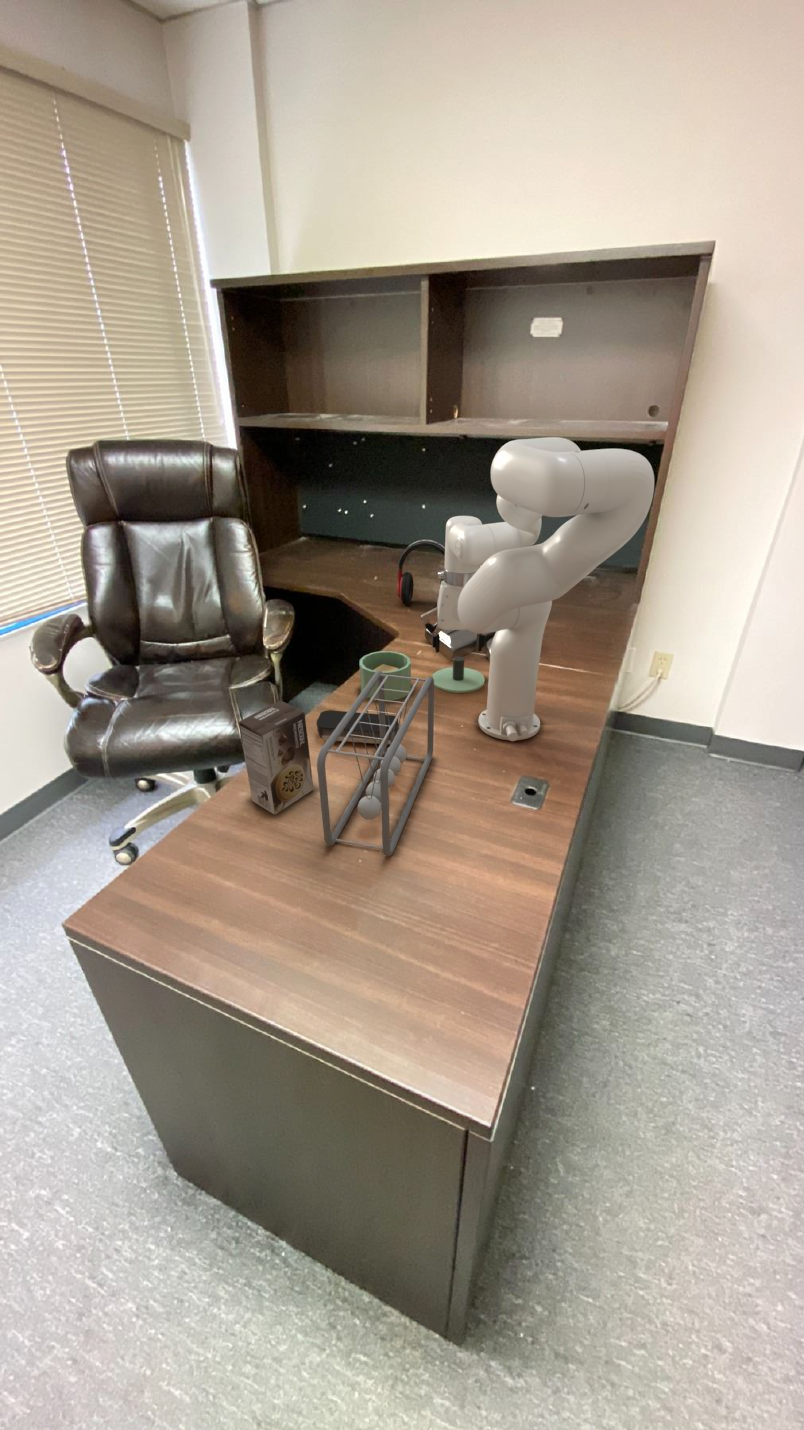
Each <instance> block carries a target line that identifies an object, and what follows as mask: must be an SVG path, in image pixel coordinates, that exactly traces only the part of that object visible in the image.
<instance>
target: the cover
mask: <svg viewBox="0 0 804 1430" xmlns="http://www.w3.org/2000/svg"><path fill="white" fill-rule="evenodd" d="M431 677H433V679H434V688H437V689H438V690H441V691H444V692H448V693H453V694H454V693H455V694H464V693H471V692H475V691H477V690H480V689H481V688H482V687H484V685H485V679H486V678H485V676H484V675H483V674H482V672H480V671H478V670H476V669H473V668H469V667H465V657H464V656H463V657H454V658H453V661H452V666H449V667H444V668H441V669H438V670H437V671H435V672H434V673H433V674H432V675H431Z"/></svg>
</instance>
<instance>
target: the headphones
mask: <svg viewBox="0 0 804 1430" xmlns="http://www.w3.org/2000/svg"><path fill="white" fill-rule="evenodd" d="M420 548H431V549H434V550H436V551H438V552H439V553H441V554H442V556H444V557H445V544H442V543H441V542H439V541H437V540H435V539H429V538H423V539H418V540H416V541H413V542H412V543H410V544H409V545H408V546H407V547H406V548H405V549H404V550H403V551H402V552H401V554H400V557H399V559H398V562H397V568H398V569H397V583H396V594H397V597H398V598H399V600H400V602H401V603H402V605H405V606H408V605H410V604H411V603H412V600H413V595H414V578H413V574H412V573H411V572H409V571H406V572H404V573H403V568H404V564H405V561H406V558H408V555H409V554H411V552H413V551H415V550H416V549H420ZM442 581H444V580H443V579H441V578H440V582H439V586H440V585H441V582H442Z"/></svg>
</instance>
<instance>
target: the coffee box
mask: <svg viewBox="0 0 804 1430" xmlns="http://www.w3.org/2000/svg"><path fill="white" fill-rule="evenodd" d="M237 723H238V727H239V732H240V738H241V744H242V750H243V757H244V761H245V762H244V763H245V768H246V773H247V778H248V785H249V790H250V795H251V801H252V802H254V803H255V804H257V805H258V806H260V807H261V808H263V809H265V810H266V811H268V812H269V813H270V814H272V815H277V814H279V813H281V812H282V811H283V810H285V809H287V808H288V807H289V806H291V805H293V804H294V803H295V802H297V801H299V800H300V799H302V798H303V797H305V796H306V795H307V794H309V793H310V792H312V791H314V781H313V773H312V764H311V755H310V748H309V747H310V746H309V739H308V730H307V722H306V713H305V711H304V710H302V709H299V708H297V707H295V706H293V705H292V704H290V703H287V702H284V701H282V700H278V701H276V702H274V703H272V704H270V705H268V706H267V707H264V708H263V709H260V710H258V711H256V712H254V713H252V714H251V715H249V716H247V717H245V718H243V719H241V720H239V721H238V722H237Z"/></svg>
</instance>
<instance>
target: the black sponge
mask: <svg viewBox="0 0 804 1430" xmlns="http://www.w3.org/2000/svg"><path fill="white" fill-rule="evenodd" d="M347 712H348V711H345V710H344V711H342V710H333V709H328V710H327V709H326V710H323V711H321V712H320V714H319V717H318V718H317V720H316V732H317V734H318V736H319V738H320V739H322V740H325V741H327V740H328V738H329V737H330V736H331V734H332V733H333V731H334V730H335V729H336V727H337V726H338V724H339V723H340V722H341V720H342V719H343V717H344V716H345V715H346V713H347ZM361 713H362V712H357V711H356V713H355V714H354V716H353V717H352V718H351V720H350V721H349V723H348V724H347V726H346V727H345V729H344V730H343V732H342V733H341V735H340V736H339V737H338V739H337V740H336V742H342V741H343V740H344V738H345V737H346V735H347V734H348V732H349V731H350V729H351V728H352V726H353V725H354V723H355V722H356V720H357V719H358V717H359V716H360V714H361ZM368 713H369V712H368ZM368 713H367V712H365V713H364V714H363V716H362V717H361V719H360V720H359V722H365V723H360V724H361V728H362V732H363V736H366V737H364V739H365V743H366V744H374V745H375V741H376V745H377V744H378V745H380V739H376V738H380V725H375V724H380V723H379V717H378V713H371V712H370V713H369V717H370V721H371V723H372V724H371V725H372V729H373V733H374V737H375V741H374V737H373V733H372V729H371V725H370V724H368V723H370V721H369V717H368ZM388 717H389V721H388ZM388 717H387V714H385V725H387V726H386V733H387V732H388V730H389V727H390V726H391V725H392V723H393V721H394V719H395V717H396V715H394V714H388ZM359 722H358V723H357V725H356V727H355V728H354V730H353V731H352V733H351V735H352V738H353V742H354V743H361V744H365V743H364V739H363V737H361V736H362V732H361V728H360V724H359ZM389 722H390V726H389ZM398 724H399V718H398V719H397V721H396V723H395V729H394V726H393V728H392V734H393V729H394V734H393V739H394V738H395V736H396V734H397V729H398ZM398 730H399V729H398ZM392 734H391V732H390V733H389V737H388V742H387V739H386V742H387V745H390V744H391V739H392ZM351 735H350V736H349V737H348V739H347V740H346V742H347V743H348V742H349V743H353V742H352V738H351ZM354 735H359V736H354ZM369 737H373V738H369ZM393 739H392V742H393Z"/></svg>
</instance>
